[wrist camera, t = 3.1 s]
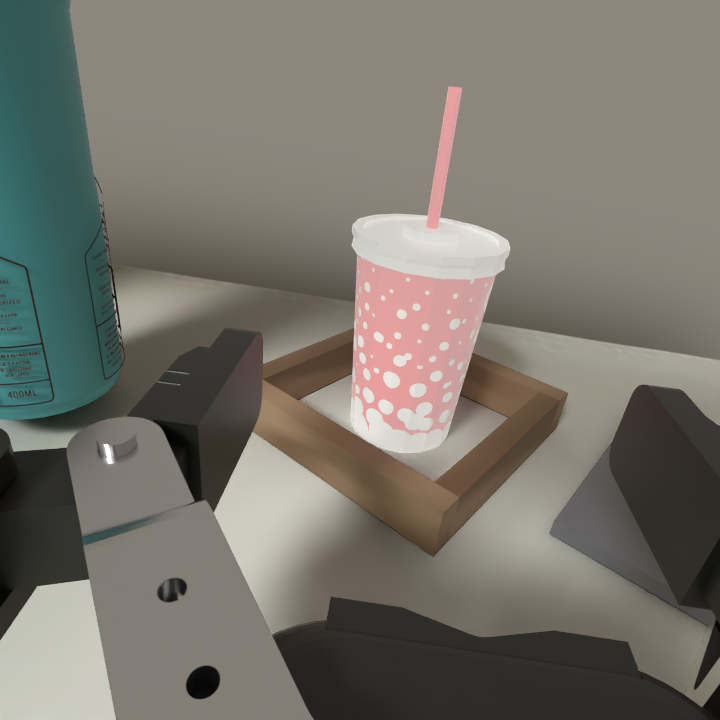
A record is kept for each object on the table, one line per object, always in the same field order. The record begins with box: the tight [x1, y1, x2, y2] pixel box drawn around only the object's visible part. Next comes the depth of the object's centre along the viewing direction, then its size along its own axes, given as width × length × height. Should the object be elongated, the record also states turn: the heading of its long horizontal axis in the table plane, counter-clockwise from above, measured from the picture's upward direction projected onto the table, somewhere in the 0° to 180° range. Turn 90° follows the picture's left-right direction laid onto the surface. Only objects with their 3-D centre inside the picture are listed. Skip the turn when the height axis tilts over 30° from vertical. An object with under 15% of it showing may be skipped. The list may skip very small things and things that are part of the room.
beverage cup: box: [351, 87, 510, 453], centre depth 21 cm, size 6×6×14 cm
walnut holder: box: [253, 328, 568, 556], centre depth 24 cm, size 11×11×2 cm
